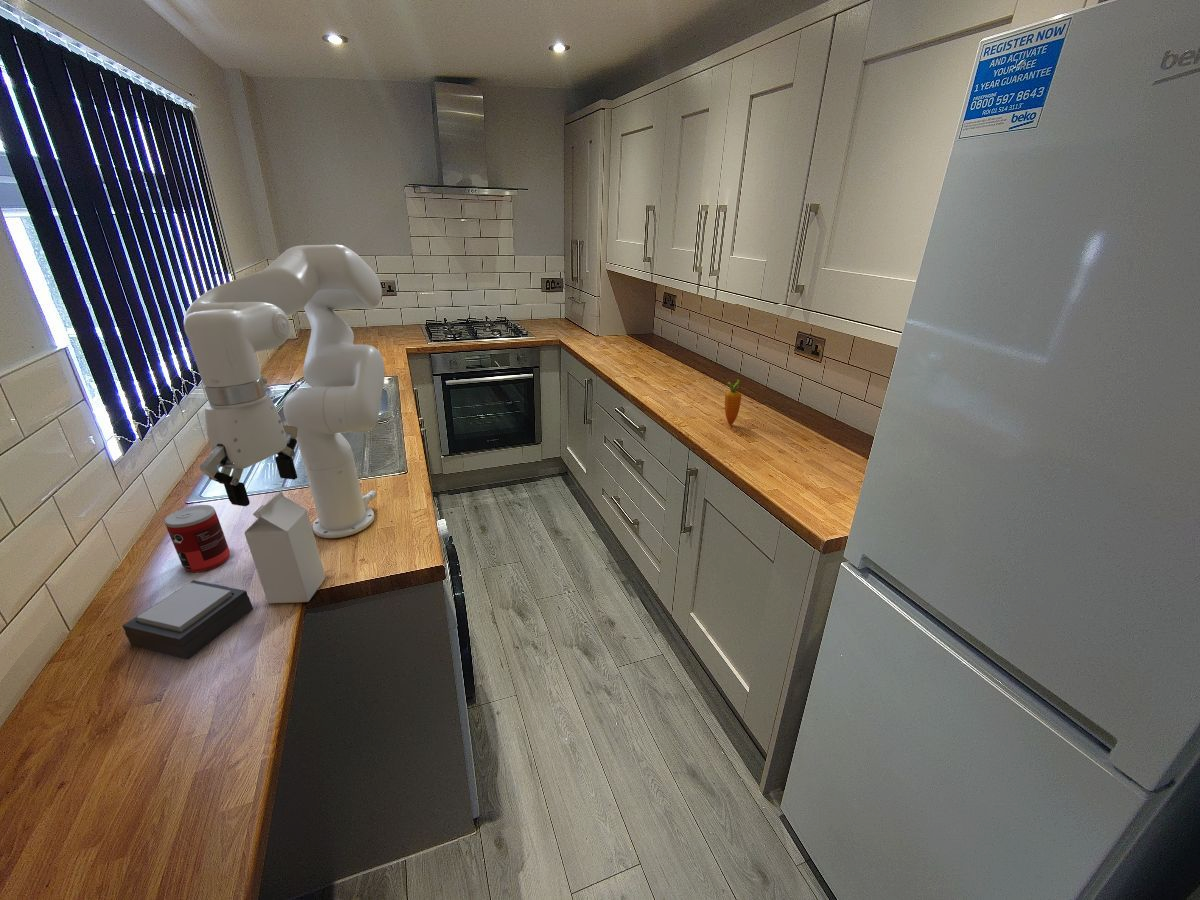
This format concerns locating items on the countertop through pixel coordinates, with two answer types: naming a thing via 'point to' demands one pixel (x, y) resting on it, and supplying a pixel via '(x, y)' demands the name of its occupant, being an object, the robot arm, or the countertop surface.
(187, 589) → the scale pan
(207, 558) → the canned food
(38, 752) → the countertop surface
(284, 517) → the milk carton
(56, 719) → the countertop surface
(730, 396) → the carrot
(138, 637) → the scale
